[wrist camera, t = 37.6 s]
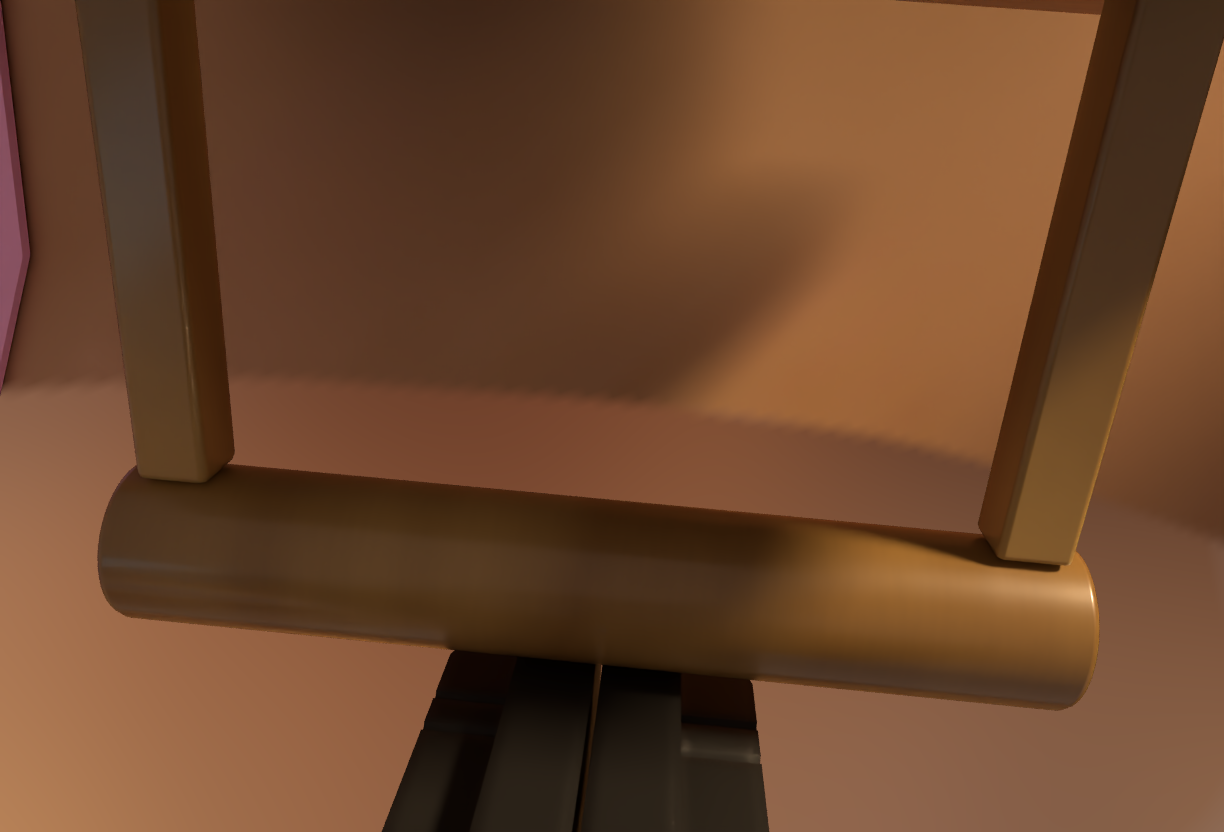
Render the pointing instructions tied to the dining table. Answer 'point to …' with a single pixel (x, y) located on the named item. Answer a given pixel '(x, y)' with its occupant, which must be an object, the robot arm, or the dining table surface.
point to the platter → (10, 215)
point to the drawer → (622, 530)
